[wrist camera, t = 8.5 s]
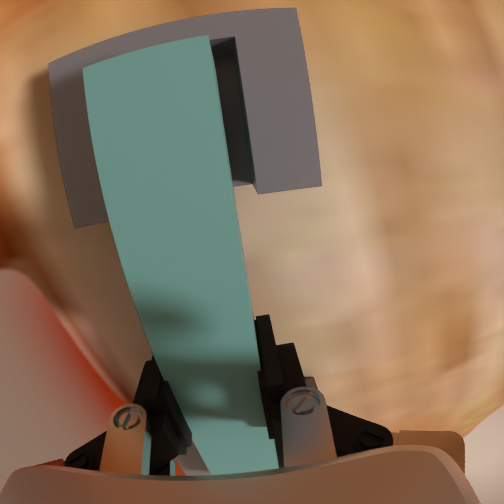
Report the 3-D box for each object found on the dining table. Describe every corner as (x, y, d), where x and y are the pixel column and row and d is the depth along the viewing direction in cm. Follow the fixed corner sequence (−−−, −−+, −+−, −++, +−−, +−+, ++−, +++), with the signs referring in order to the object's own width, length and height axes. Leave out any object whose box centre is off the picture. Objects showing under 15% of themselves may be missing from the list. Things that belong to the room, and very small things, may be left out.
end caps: (85, 76, 11) (48, 63, 8) (280, 36, 11) (295, 7, 8) (196, 449, 20) (194, 486, 17) (314, 434, 20) (324, 471, 17)
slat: (134, 88, 10) (82, 67, 5) (215, 71, 10) (208, 34, 6) (230, 454, 18) (233, 510, 13) (275, 448, 18) (284, 505, 13)
